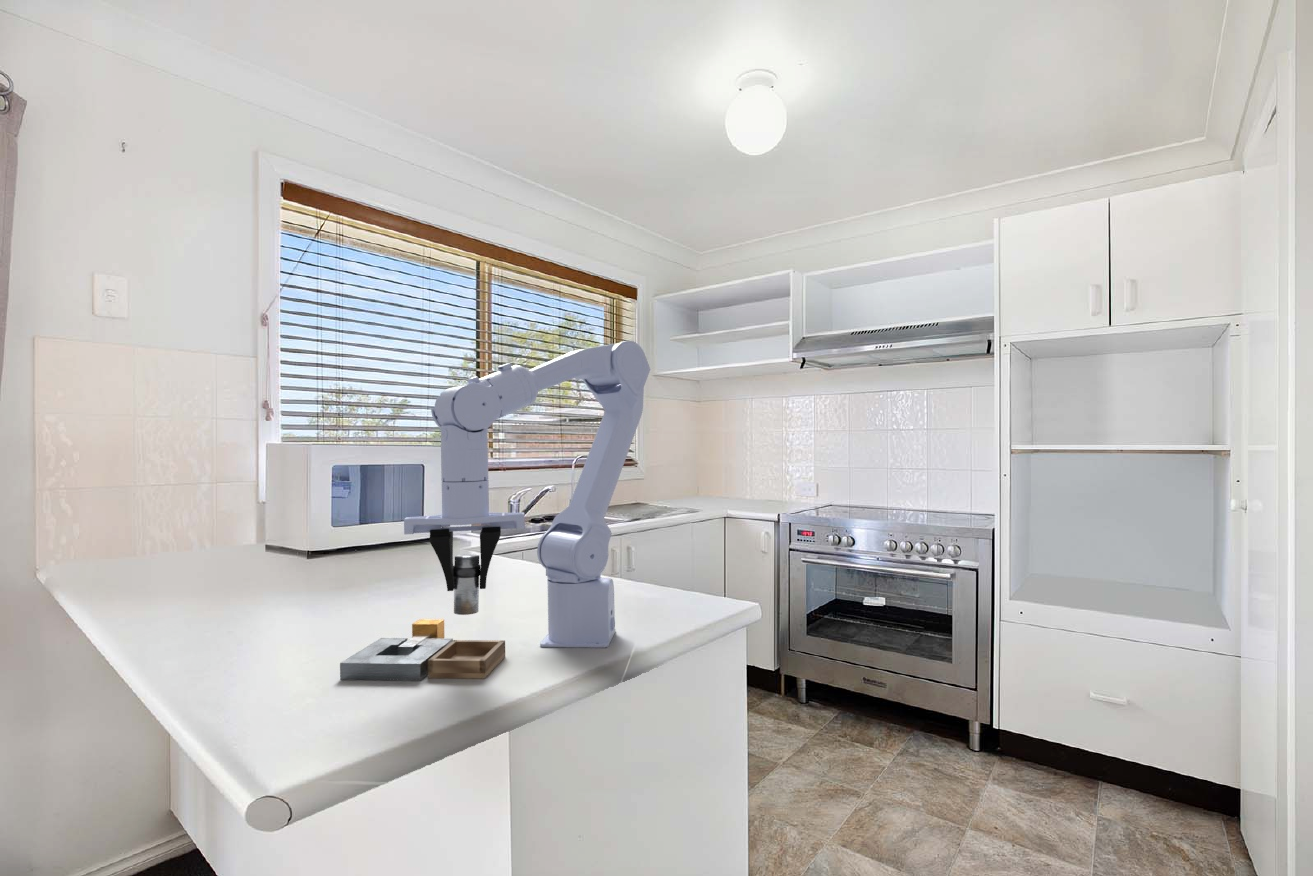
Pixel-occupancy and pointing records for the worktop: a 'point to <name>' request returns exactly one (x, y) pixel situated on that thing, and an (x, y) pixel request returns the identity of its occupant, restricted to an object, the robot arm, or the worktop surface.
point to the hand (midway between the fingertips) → (467, 588)
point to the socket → (391, 660)
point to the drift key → (422, 634)
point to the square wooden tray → (466, 659)
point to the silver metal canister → (466, 584)
